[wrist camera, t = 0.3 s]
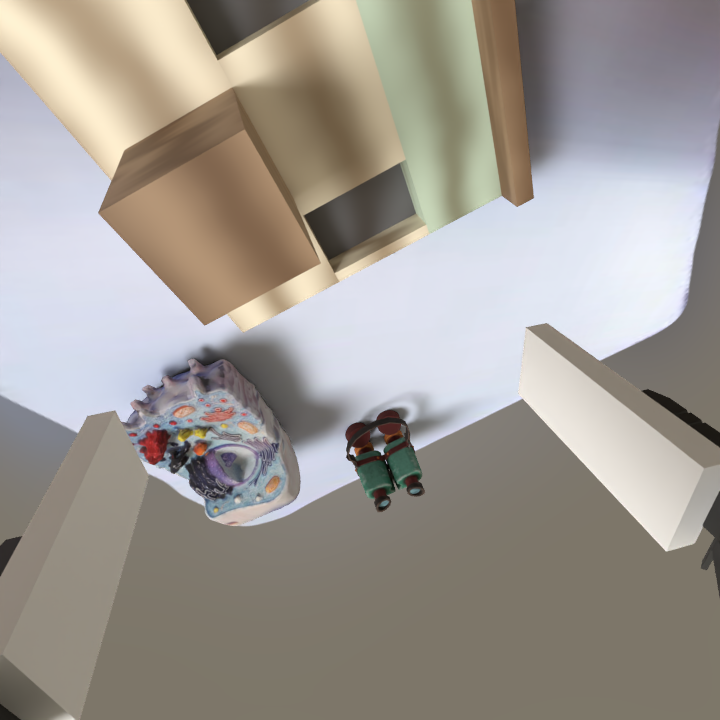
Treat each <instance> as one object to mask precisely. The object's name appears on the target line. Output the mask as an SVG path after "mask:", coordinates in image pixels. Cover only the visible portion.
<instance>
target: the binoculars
mask: <svg viewBox="0 0 720 720" xmlns="http://www.w3.org/2000/svg"><path fill="white" fill-rule="evenodd" d="M401 424H402V425H404V426H406V433H404V437H403V435H402V432H401V431H400V430H399V429H400V427H401ZM376 427H378V429H379V431H380V432H382V433H383V434H385V436H384V440H385V442H386V444H387V445H386V447H385V448H384V455H381V453H380V452H379V451H374V448H373V445H372V443H370V442H369V440H370V430H372V429H374V428H376ZM345 436H346V439H347V441H348V444H347V448H346V451H347V457H346V458H347V459H348V460H349V461H352V462H353V464H354V465H355V468H356V469H355V471H356V472H357V474H358V476H359V477H360V480H361V482H362V485H363V487H364V490H365V493H366V494H367V496H368V498H370V499H375V502H374V503H375V507H376V509H377V511H378V512H383V511H385V510H386V509H387V508H388V507H389V506H390V503H391V500H390V497H388V496H387V495H389V494H391V493H393V492H395V487H394V484H393V483H396V485H397V487H398V489H399V490H401V489H403V488H406V487H407V492H408V494H409V495H411V496H421V495H423V494H424V493H425V490H424V489H423V486H422V484H421V483H420V482H418V481H419V480H420V479H421V477H422V472H421V469H420V466H419V463H418V461H417V458H416V456H415V451H414V446H412V444H411V443H410V432H409V429H408V426H407V424H406V422H405V421H404V420H402V419H400V417H399V414H398V413H397V412H395V411H392V410H387V411H384V412H382V413H380V414H379V415H378V417H377V420H376V421H374V422H372V423H370V424H368V425H365V424H364V423H355V424H352V425H351V426H350V427H349V428H348V429H347V431H346V434H345ZM351 447H355V449H354V450H355V453H356V457H354V455H350V454H349V452H350V448H351ZM385 460H386V461H387V464H386V461H385ZM389 469H390V471H389Z"/></svg>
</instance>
